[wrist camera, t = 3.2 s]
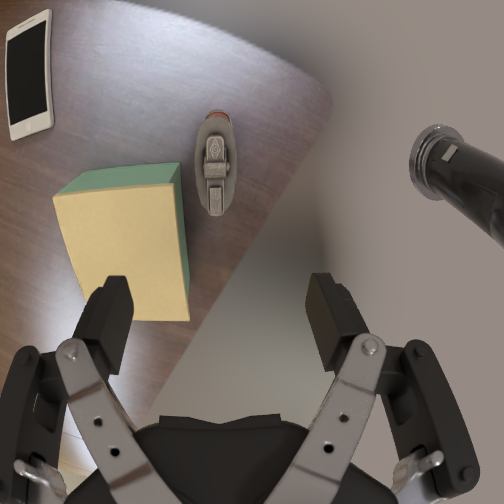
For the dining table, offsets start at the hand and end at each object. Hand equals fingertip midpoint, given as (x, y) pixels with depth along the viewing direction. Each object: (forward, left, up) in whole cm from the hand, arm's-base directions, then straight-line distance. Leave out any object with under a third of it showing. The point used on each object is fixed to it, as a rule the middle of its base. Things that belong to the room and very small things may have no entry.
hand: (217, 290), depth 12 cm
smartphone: (+23, -14, -20) cm, 34 cm away
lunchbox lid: (+10, +8, -13) cm, 18 cm away
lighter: (0, -2, -20) cm, 20 cm away
